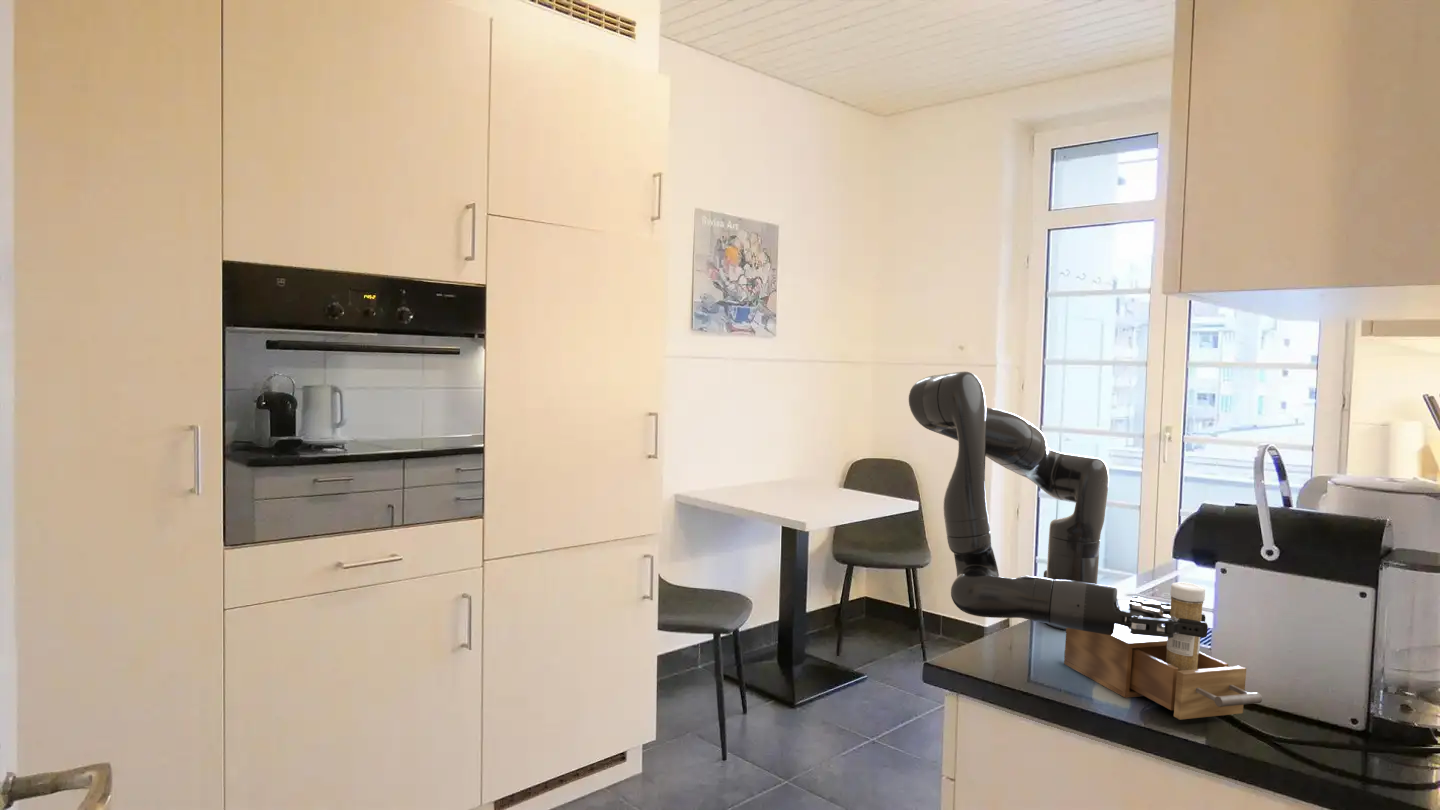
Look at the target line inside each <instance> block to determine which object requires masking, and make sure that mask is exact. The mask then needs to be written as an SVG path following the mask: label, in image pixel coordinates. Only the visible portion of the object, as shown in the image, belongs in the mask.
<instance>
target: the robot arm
mask: <svg viewBox="0 0 1440 810" xmlns="http://www.w3.org/2000/svg"><path fill="white" fill-rule="evenodd" d="M908 407H909V409H910V410H909V411H910V412H911V414H912V416H913V418H914V419H915V420H916V422H918V424H919V425H920V426H922V427H923V428H924V429H926V430H929V431H931V432H934V433H937V434H939V435H942V436H945V437H948V438H949V439H950V438H951V439H952V440H955V441H957V442H958V443H957V445H958V448H957V457H956V460H955V465H954V468H953V471H952V474H951V475H950V476H951V477H950V478H949V481H948V483H947V486H946V489H945V493H944V498H943V507H942V508H943V509H942V510H943V518H944V525H945V533H946V541H947V544H948V548H949V550H950V551H951V552H952V553H953V556H954V557H953V558H954V563H955V569H956V577H955V579H954V580H953V582H952V584H951V587H950V597H951V600H952V602H953V604H954V605H955V606H956V608H958V609H959V610H960V611H961V612H963V613H966V614H967V615H970V616H975V617H980V618H992V619H993V618H994V619H995V618H996V619H1024V620H1028V621H1033V622H1039V623H1045V624H1047V625H1048V626H1050V627H1053V628H1057V629H1060V630H1065V631H1066V628H1070V629H1076V630H1082V631H1088V632H1094V633H1100V634H1106V635H1112V634H1113V633H1114V625H1115V624H1119V625H1123V626H1126V627H1128V629H1130V633H1132V634H1134V635H1148V636H1159V637H1168V638H1172V637H1173V635H1178V634H1184V635H1190V636H1196V637H1200V638H1206V637H1207V636H1208V628H1209V627H1208V626H1209V625H1208V623H1207V622H1206V616H1205V613H1203V612H1202V618H1201V621H1196V620H1190V619H1183V618H1177V617H1175V616H1169V615H1170V608H1171V602H1164V601H1160V600H1155V599H1150V598H1146V597H1142V596H1138V595H1132V596H1131V598H1130V599H1129V600H1127V599H1118V597H1117V596H1118V589H1117V587H1116V586H1113V585H1108V584H1107V585H1106V584H1100V583H1098V577H1099V561H1100V549H1101V547H1100V546H1101V533H1102V530H1103V528H1104V523H1105V518H1106V508H1107V500H1108V492H1109V485H1110V484H1109V483H1110V474H1109V468H1108V466H1107V463H1106V462H1105V461H1104V460H1103V459H1101V458H1099V457H1094V456H1088V455H1080V454H1074V453H1073V454H1072V453H1067V452H1060V451H1056V450H1054V449H1051V448H1050V447H1048V443H1047V442H1048V441H1047V439H1046V437H1045V435H1044V433H1043V432H1042V431H1041V430H1040V429H1039V427H1037V426H1036V425H1034V424H1033V423H1031V422H1030V421H1028V420H1026V419H1025V418H1023V417H1021V416H1019V415H1017V414H1015V413H1012V412H1008V411H1005V410H1002V409H997V408H992V407H987V401H986V395H985V390H984V387H983V385H982V382H981V380H980V379H979V378H978V376H977V375H975V374H974V373H972V372H970V371H955V372H949V373H943V374H934V375H929V376H926V377H923V378H921V379H919V380H918V381H916V382H915V383H914V384H913V385H912V387H911V388H910V390H909V393H908ZM986 458H988V459H990V460H991V461H993V462H994V463H996V464H997V465H999V466H1002V467H1003V468H1005V469H1007V470H1009V471H1011V472H1013V473H1015V474H1017V475H1019V476H1021V477H1024V478H1026V479H1028V480H1029V481H1030V482H1032V483H1033V484H1035V485H1036V486H1037V487H1038V488H1040V490H1042V491H1043V492H1045V494H1047V495H1048V496H1050V497H1052V498H1054V499H1056V500H1059V501H1064V502H1068V503H1074V504H1075V506H1074V510H1073V513H1072V514H1070V515H1068V516H1064V517H1059V518H1055V519H1051V521H1050V523H1049V530H1048V547H1047V562H1046V569H1045V570H1044V571H1043V577H1041V576H1035V575H1021V576H1017V577H1005V576H1004V577H1003V576H1000V573H999V568H998V565H997V560H996V556H995V553H994V549H993V546H992V536H991V534H992V533H991V528H990V520H989V512H988V505H987V496H986ZM1162 625H1164V626H1165V627H1162Z"/></svg>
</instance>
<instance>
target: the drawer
mask: <svg viewBox="0 0 1440 810" xmlns="http://www.w3.org/2000/svg"><path fill="white" fill-rule="evenodd" d="M1166 655H1167V646H1156V647H1142V648H1132V661H1131V675H1130V689H1132V690H1134V691H1136V692H1138V693H1140V694H1141V695H1143V696H1142V697H1145V698H1147V699H1149V700H1150V701H1153V702H1154V703H1156V704H1158V705H1160V706H1162V707H1164V708H1166V709H1168V710H1170V711H1173V717H1174V718H1175V719H1178V720H1179V721H1180V720H1181V721H1182V720H1191V719H1200V718H1209V717H1210V718H1211V717H1219V716H1220V717H1221V716H1231V715H1239V714H1244V706H1245V705H1254V704H1261V703H1262V702H1263V697H1262V694H1260V693H1259V692H1249V691H1247V690H1246V681H1247V680H1246V679H1247V668H1246V667H1244V666H1241V665H1232V666H1231V665H1230V666H1229V663H1227V662H1225V661H1223V660H1220V659H1218V658H1216V657H1213V656H1211V655H1208V654H1207V653H1203V652H1202V651H1200V650H1199V655H1198V666H1197V669H1194V670H1182V671H1178V668H1177V667H1175V666H1172V665H1170V664H1168V663H1166Z"/></svg>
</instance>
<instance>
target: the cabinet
mask: <svg viewBox="0 0 1440 810" xmlns="http://www.w3.org/2000/svg"><path fill="white" fill-rule="evenodd" d="M1162 627H1165V625H1164V624H1162ZM1064 641H1065V642H1064V643H1065V644H1064V658H1063V659H1064V660H1063V664H1064V665H1065V666H1066V667H1068V668H1070V669H1072V670H1074V671H1076V672H1078V673H1079V674H1081V675H1083V676H1085V677H1086V678H1088V679H1090V680H1092V681H1094V682H1095V683H1098V684H1100V685H1101V686H1103V687H1105V688H1106V689H1108V690H1110V691H1111V692H1114V693H1116V694H1117V695H1119V696H1120V697H1123V698H1125V699H1127V698H1137V697H1144V696H1143V695H1141V694H1140V693H1138V692H1136V691H1134V690H1132V689H1130V675H1131V661H1132V648H1142V647H1156V646H1167V637H1159V636H1148V635H1134V634H1132V633H1130V629H1128V627H1126V626H1123V625H1119V624H1115V625H1114V633H1113V634H1112V635H1106V634H1100V633H1094V632H1088V631H1082V630H1076V629H1070V628H1066V630H1065V640H1064Z"/></svg>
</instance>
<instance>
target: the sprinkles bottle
mask: <svg viewBox="0 0 1440 810" xmlns="http://www.w3.org/2000/svg"><path fill="white" fill-rule="evenodd" d="M1169 594H1170V604H1171V608H1170V615H1169V616H1175V617H1177V618H1183V619H1190V620H1196V621H1201V618H1202V613H1203V605H1204V601H1205V600H1206V599H1205V598H1206V589H1205V587H1203V586H1201V585H1198V584H1196V583H1195V584H1194V583H1190V582H1183V581H1182V582H1179V581H1178V582H1177V581H1176V582H1172V583H1171V585H1170V593H1169ZM1200 646H1201V637H1196V636H1190V635H1184V634H1178V635H1173V637H1172V638H1168V637H1167V655H1166V663H1168V664H1170V665H1172V666H1175V667H1177V668H1178V671H1182V670H1194V669H1197V666H1198V655H1199V651H1200V648H1201V647H1200Z"/></svg>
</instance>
